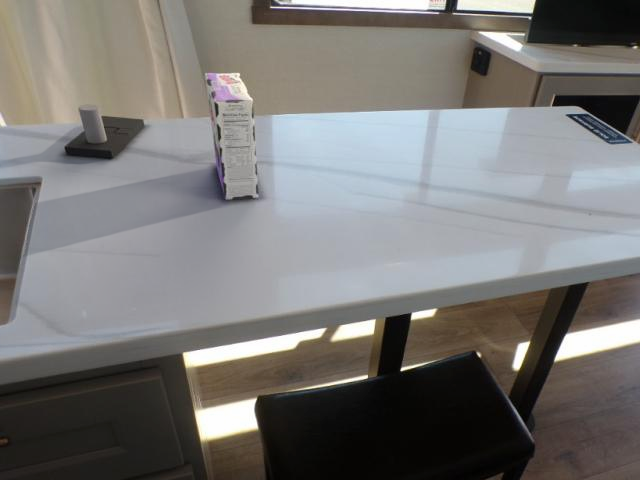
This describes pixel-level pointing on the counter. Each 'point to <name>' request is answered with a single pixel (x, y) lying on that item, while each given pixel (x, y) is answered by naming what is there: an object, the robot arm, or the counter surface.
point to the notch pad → (124, 125)
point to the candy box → (233, 134)
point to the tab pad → (98, 148)
